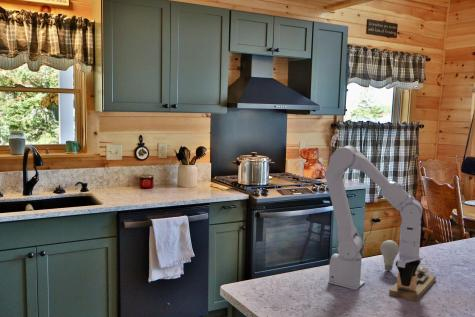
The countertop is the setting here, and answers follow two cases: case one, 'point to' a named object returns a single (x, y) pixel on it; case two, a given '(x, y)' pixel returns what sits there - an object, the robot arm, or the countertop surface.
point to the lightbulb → (389, 253)
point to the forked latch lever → (413, 282)
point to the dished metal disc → (422, 270)
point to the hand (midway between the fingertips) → (406, 284)
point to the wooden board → (418, 292)
